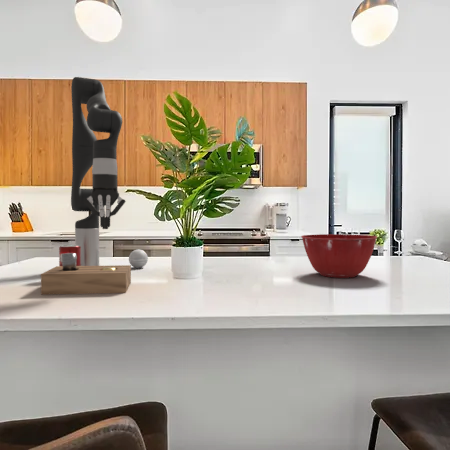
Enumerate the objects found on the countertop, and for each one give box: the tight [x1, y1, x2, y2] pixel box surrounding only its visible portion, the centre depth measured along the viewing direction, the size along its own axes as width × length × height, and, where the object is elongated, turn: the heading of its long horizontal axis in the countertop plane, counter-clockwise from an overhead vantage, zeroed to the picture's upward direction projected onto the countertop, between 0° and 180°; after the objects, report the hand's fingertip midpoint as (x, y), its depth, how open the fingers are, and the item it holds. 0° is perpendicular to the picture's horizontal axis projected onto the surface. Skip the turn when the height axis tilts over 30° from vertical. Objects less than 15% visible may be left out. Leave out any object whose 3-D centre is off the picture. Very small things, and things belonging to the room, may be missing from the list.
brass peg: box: [103, 267, 116, 270], centre depth 124 cm, size 4×4×6 cm
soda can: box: [58, 244, 81, 266], centre depth 139 cm, size 7×7×12 cm
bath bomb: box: [128, 248, 149, 269], centre depth 167 cm, size 8×8×8 cm
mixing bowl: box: [300, 233, 378, 279], centre depth 152 cm, size 28×28×16 cm
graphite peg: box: [62, 253, 76, 271], centre depth 122 cm, size 4×4×6 cm
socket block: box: [40, 264, 132, 296], centre depth 123 cm, size 16×24×6 cm, turn 98°
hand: (105, 228), depth 123 cm, fingers closed
